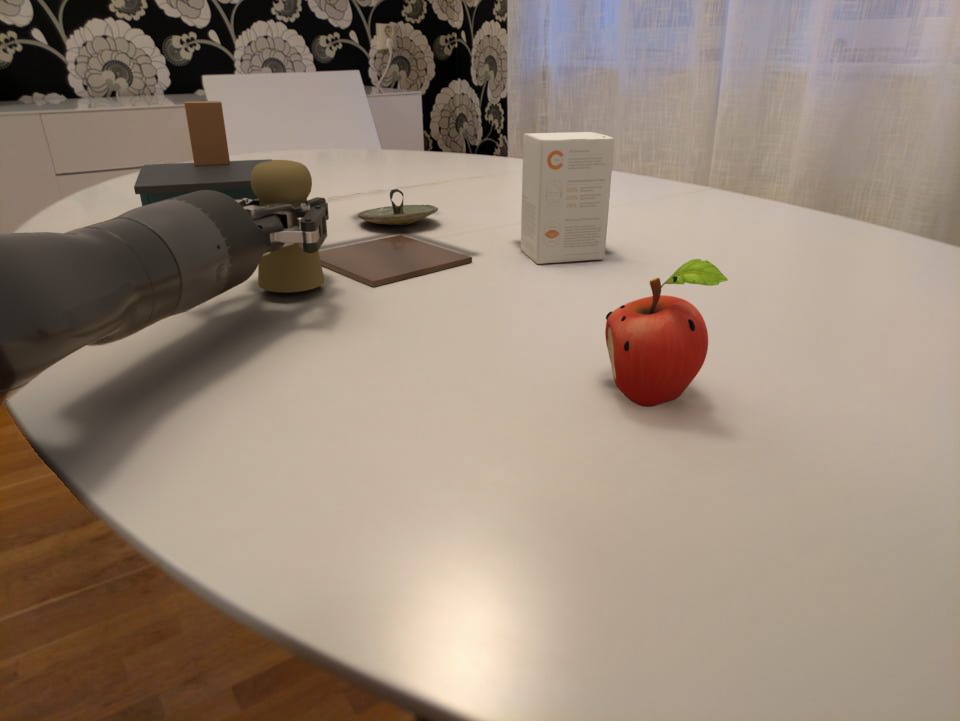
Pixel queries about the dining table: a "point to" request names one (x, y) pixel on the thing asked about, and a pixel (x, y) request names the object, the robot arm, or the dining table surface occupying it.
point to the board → (389, 259)
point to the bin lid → (200, 158)
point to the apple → (660, 339)
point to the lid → (397, 213)
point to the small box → (565, 196)
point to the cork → (293, 187)
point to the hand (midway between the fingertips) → (299, 206)
